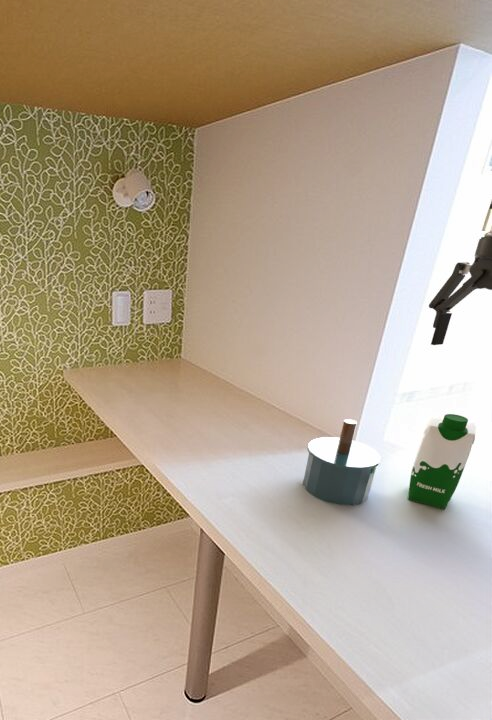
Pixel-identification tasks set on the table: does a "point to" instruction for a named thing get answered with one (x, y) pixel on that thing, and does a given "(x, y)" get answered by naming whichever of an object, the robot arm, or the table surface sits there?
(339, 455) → the jar lid
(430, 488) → the milk carton
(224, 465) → the table surface
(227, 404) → the table surface
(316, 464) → the jar
